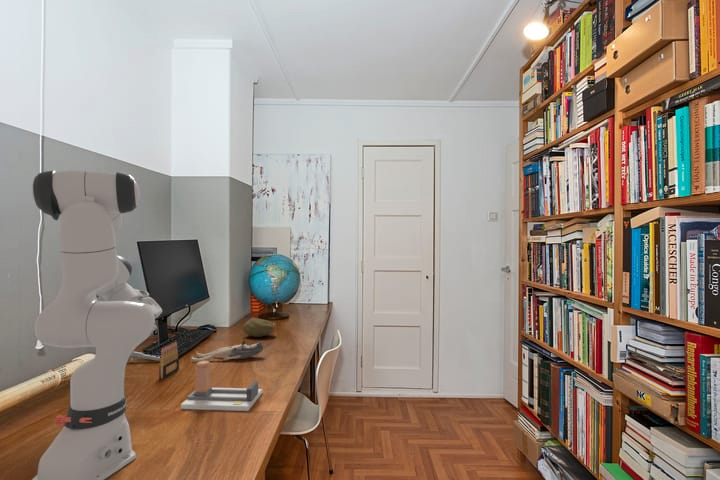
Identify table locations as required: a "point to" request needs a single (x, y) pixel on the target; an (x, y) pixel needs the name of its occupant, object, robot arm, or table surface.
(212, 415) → the table surface
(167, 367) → the ammunition clip
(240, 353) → the anime figure
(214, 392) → the rail board
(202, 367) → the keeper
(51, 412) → the table surface
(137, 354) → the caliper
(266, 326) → the decorative stone
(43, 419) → the table surface
